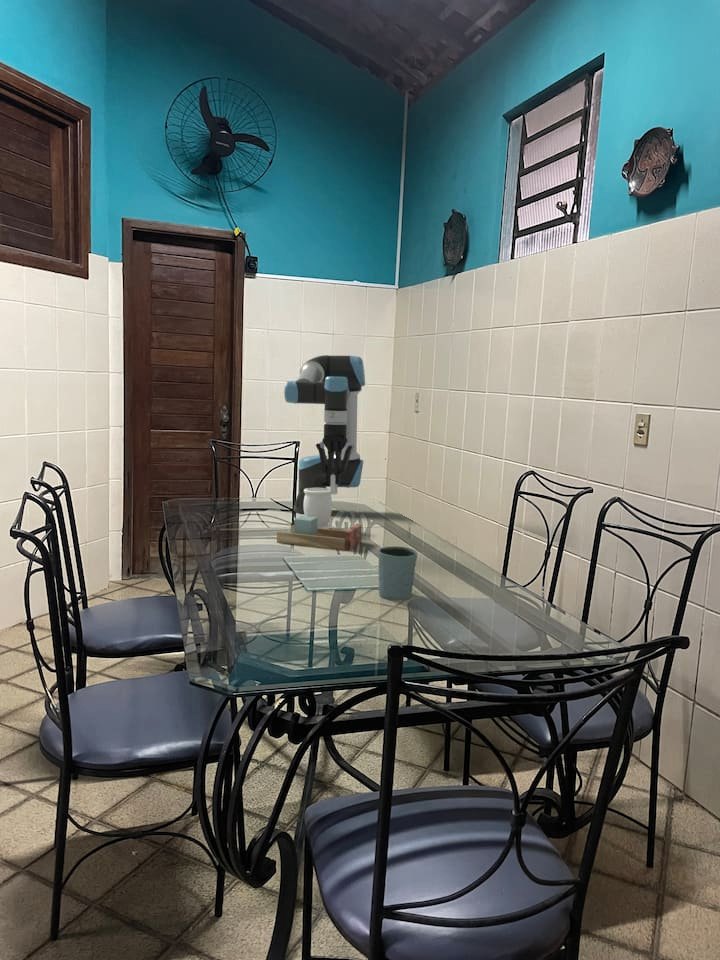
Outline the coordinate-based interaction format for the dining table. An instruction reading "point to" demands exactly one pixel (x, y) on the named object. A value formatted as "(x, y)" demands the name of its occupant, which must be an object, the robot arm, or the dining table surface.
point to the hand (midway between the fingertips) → (333, 493)
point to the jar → (318, 505)
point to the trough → (324, 538)
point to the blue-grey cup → (396, 572)
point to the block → (305, 525)
